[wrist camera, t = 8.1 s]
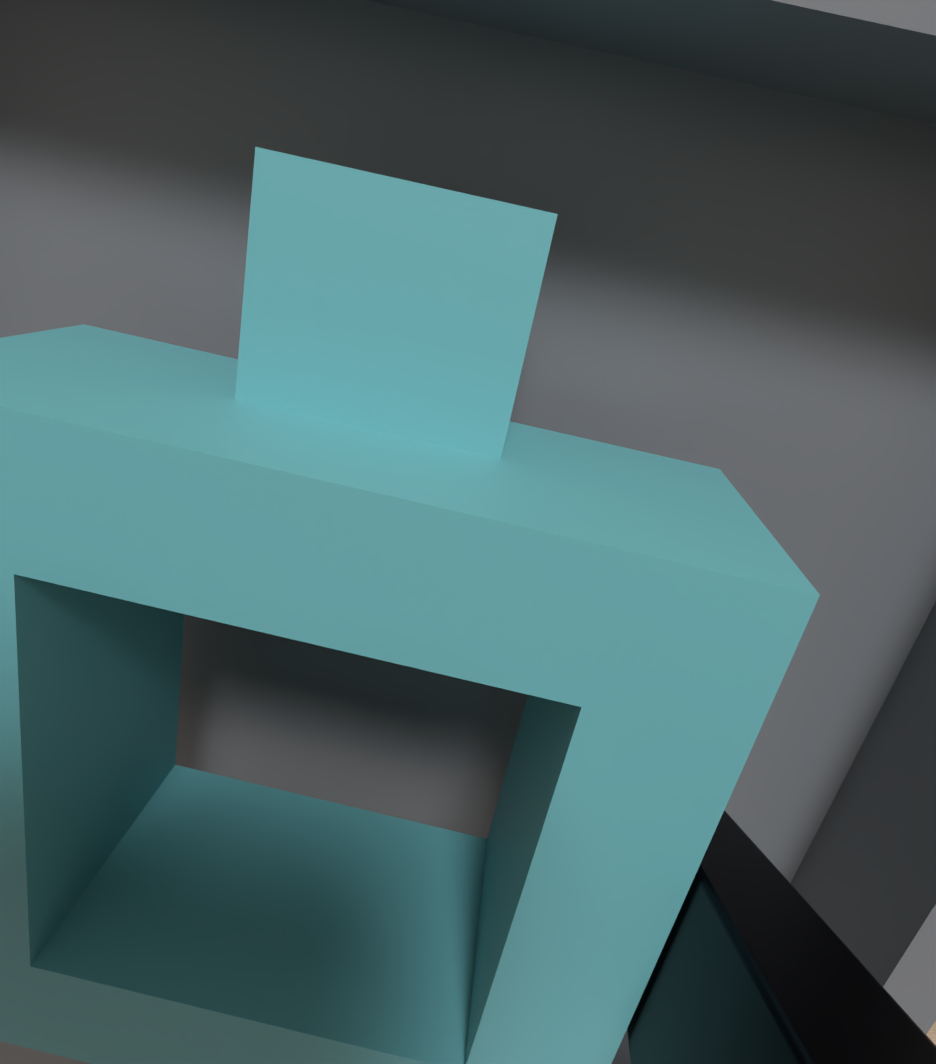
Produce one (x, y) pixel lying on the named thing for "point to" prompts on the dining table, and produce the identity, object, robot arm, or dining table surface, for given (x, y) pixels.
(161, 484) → the collar
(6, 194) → the tray
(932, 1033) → the dining table surface
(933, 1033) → the dining table surface
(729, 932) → the robot arm
